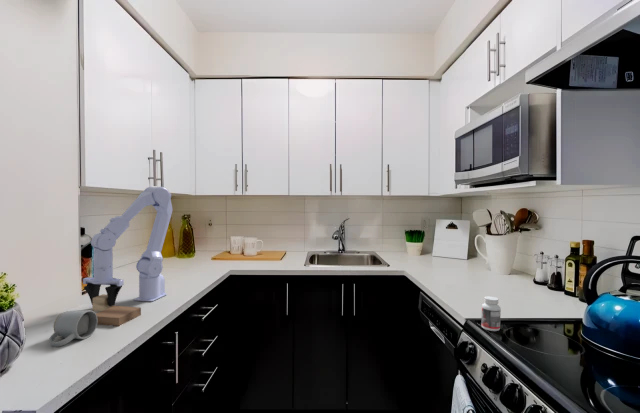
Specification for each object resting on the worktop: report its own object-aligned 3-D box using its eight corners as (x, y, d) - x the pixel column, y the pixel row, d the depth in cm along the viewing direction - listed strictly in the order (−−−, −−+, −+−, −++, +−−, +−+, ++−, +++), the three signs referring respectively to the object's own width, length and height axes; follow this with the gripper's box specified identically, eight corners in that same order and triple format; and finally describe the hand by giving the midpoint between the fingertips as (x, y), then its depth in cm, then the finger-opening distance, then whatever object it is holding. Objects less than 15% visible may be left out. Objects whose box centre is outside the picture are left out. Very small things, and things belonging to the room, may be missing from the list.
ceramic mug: (73, 330, 100) (72, 305, 100) (98, 332, 99) (98, 306, 99) (40, 347, 90) (39, 319, 89) (67, 349, 89) (67, 320, 88)
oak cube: (102, 306, 122) (102, 294, 122) (113, 307, 121) (113, 295, 121) (92, 310, 118) (92, 298, 118) (104, 311, 117) (104, 298, 117)
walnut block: (114, 314, 116) (114, 305, 115) (140, 316, 114) (140, 307, 114) (90, 325, 106) (90, 315, 106) (118, 327, 104) (118, 318, 104)
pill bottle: (477, 325, 110) (478, 295, 110) (493, 324, 110) (494, 295, 110) (487, 331, 104) (488, 300, 104) (503, 331, 105) (504, 300, 105)
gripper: (75, 268, 116) (75, 307, 117) (112, 270, 114) (113, 309, 114) (92, 264, 123) (92, 300, 124) (127, 266, 121) (127, 303, 121)
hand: (103, 304), depth 120 cm, fingers open, 6 cm apart
